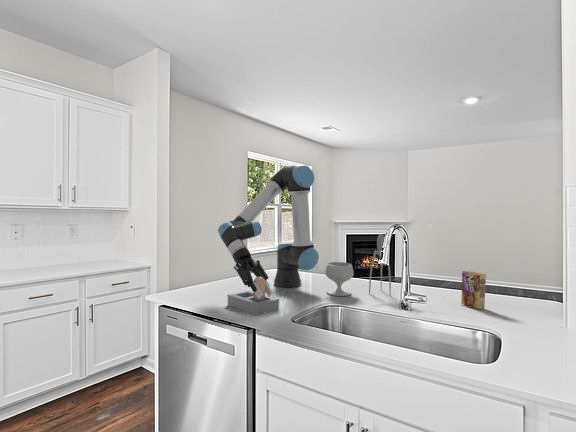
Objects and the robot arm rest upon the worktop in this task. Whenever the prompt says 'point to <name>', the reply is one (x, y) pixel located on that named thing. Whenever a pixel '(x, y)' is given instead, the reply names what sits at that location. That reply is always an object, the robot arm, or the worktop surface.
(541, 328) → the worktop surface
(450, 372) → the worktop surface
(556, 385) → the worktop surface
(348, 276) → the chalice
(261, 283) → the peach dome-topped cylinder
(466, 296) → the candy box
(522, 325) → the worktop surface
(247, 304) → the divided tray
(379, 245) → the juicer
